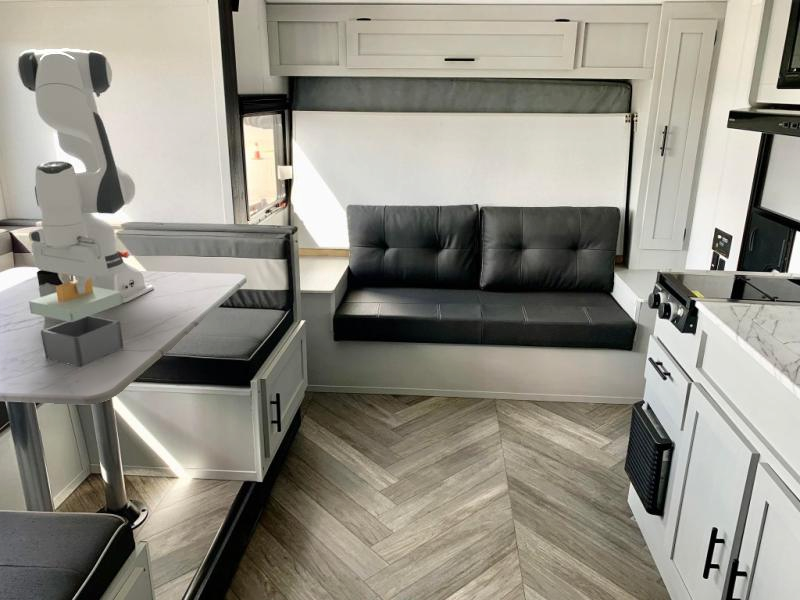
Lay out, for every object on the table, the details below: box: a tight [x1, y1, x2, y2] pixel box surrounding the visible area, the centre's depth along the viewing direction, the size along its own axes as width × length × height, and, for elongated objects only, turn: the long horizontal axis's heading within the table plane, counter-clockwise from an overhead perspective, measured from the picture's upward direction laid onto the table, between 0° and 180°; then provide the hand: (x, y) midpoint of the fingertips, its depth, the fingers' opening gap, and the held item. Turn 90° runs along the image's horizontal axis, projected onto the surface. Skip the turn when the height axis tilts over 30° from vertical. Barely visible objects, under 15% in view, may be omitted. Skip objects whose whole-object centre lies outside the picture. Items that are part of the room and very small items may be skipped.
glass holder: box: [36, 270, 75, 329], centre depth 172 cm, size 9×14×15 cm, turn 2°
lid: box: [28, 278, 124, 322], centre depth 148 cm, size 14×13×6 cm
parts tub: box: [40, 315, 124, 368], centre depth 152 cm, size 13×12×7 cm
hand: (75, 291), depth 148 cm, fingers closed on lid
